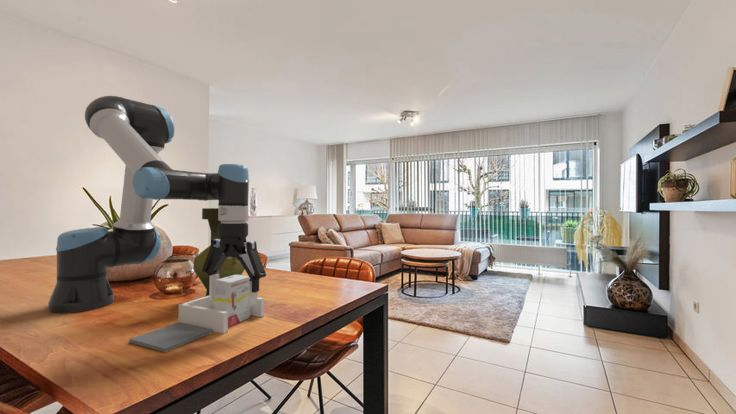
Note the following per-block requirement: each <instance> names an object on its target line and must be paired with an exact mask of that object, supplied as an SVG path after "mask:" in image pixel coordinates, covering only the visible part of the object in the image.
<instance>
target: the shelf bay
mask: <svg viewBox="0 0 736 414" xmlns="http://www.w3.org/2000/svg"><path fill="white" fill-rule="evenodd" d="M205 296H206V295H205ZM205 296H203V297H199V298H196V299H192V300H190V301H186V302H182V303H180V304H178V313H177V314H178V317H177V318H178V321H177V322H180V323H185V324H189V325H194V326H198V327H203V328H208V329H212V332H214V333H215V332H216V333H219V334H226V333H228V312H226V311H221V310H216V309H214V300H215V299H212V300H211V299H209V296H206V297H205ZM250 316H253V317H258V318H262V317H264V316H265V297H259V296H257V303H256V304H254V305H251V306H250Z"/></svg>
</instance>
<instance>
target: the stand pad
mask: <svg viewBox="0 0 736 414" xmlns="http://www.w3.org/2000/svg"><path fill="white" fill-rule="evenodd" d="M212 333H213V331H212V329H208V328H203V327H198V326H194V325H189V324H185V323H180V322H178V321H177V322H174V323H172V324H169V325H165V326H163V327H159V328H158V329H154V330H150V331H149V332H145V333H143V334H140V335H137V336H134V337H132V338H129V343H130V344H134V345H137V346H142V347H144V348H148V349H152V350H156V351H158V352H163V353H167V352H169V351H172V350H174V349H177V348H179V347H181V346H183V345H186V344H190V342H191V343H192V342H194V341H196V340H198V339H201V338H203V337H206V336H208V335H210V334H212Z"/></svg>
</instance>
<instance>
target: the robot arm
mask: <svg viewBox="0 0 736 414" xmlns="http://www.w3.org/2000/svg"><path fill="white" fill-rule="evenodd" d="M84 120H85V122H86V125H87V127H88V129H89V130H90V131H91V132H92V134H94V135H95V136H96V137H97V138H100V139H102V140H104V141H105V142H106V143H107V144H108V146H109V147H110V148H111V150H112V151H113V152H114V153H115V154H116V155H117V156H118V158H119V159H121V161H122V162H123V163H124V165H125V167H124V169H125V170H124V177H123V186H122V187H123V188H122V193H121V194H122V195H121V203H120V204H121V205H120V214H119V219H118V220H117V221H116V222H114V223H113V224H112V226H113V227H112V230H108V229H107V227H104V226H97V227H87V228H80V229H78V228H77V229H72V230H68V231H64V232H62V233H60V234H59V235H58V237H57V241H56V247H55V251H56V284H55V286H54V288H53V291H52V293H51V296H50V297H49V301H48V305H47V306H48V309H47V311H48V312H50V313H54V314H55V313H56V314H57V313H58V314H59V313H60V314H61V313H63V314H65V313H77V312H84V311H89V310H94V309H99V308H103V307H106V306H108V305H111V304H112V303H114V296H115V295H114V292H113V289H112V286H111V284H110V283H109V280H108V274H107V273H108V268H113V267H120V266H121V267H122V266H128V265H129V266H130V265H139V264H142V263H147V262H150V261H152V260H153V259H154V258H156V256H158V254H159V252H160V249H161V245H162V238H161V234H160V232H159V231H158V230H157V229H155V228H156V226H155V224H154V223H152V220H151V217H152V211H153V202H154V201H155V200H156V201H158V200H187V201H188V200H190V201H191V200H192V201H217V202H218V205H217V208H218V220H219V221H221V223H219V224H218V236H219V237H221V239H212V240H211V239H210V245H211V247H210V250H209V253H208V255H207V258H206V260H205V263H204V266H203V268H202V271H203V272H206V273H207V274H208V285H209V299H211V300H212V299H215V281H216V280H217V279H219V274H216V273H219V272H218V270H219V269H220V267H221V266H222V264H223V263H224V261H225V260H226V259H227V257H233V258H237V259H238V260H239V261H240V262H241V264H242V266H243V267H244V269H245V270H244V271H245V272H246V274H247V276H249V277H250V279H249V280H248V306H251V305H254V304H256V303H257V297H258V292H259V291H260V280H261V279H263V278H265V277H266V276H267V273H266V270H265V267H264V264H263V262H262V260H261V257H260V254H259V251H258V248H257V241H255V240H251V241H247V237H248V236H249V224H248V222H249V189H250V188H249V185H250V179H249V169H248V167H247V166H246V165H243V164H236V163H222V164H220V165H219V166H218V169H217V172H216V173H215V172H213V173H211V172H207V173H206V172H198V171H188V170H187V171H185V170H180V169H179V170H178V169H177V170H176V169H173V168H171V167H170V165H168V164H167V163H166V161H164V159H162V157H161V156H160V155H159V153H160V152H161V151H163V150H164V149H165V145H166V144H169V143H171V142H172V140H173V138H174V136H175V132H176V131H175V128H176V127H175V122H174V119H173V117H172V116H171V114H170V112H169V111H168V110H167V109H165V108H163V107H160V106H157V105H154V104H149V103H145V102H142V101H137V100H134V99H128V98H125V97H122V96H118V95H103V96H101V97H97V98H95V99H93V100H92V101H91V102H90V103H89V104H88V105H87V106H86V108H85V111H84ZM153 200H154V201H153ZM220 248H221V249H220ZM208 266H209V267H208Z"/></svg>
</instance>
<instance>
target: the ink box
mask: <svg viewBox="0 0 736 414" xmlns="http://www.w3.org/2000/svg"><path fill="white" fill-rule="evenodd" d="M249 279H250V277H249V276H248V275H243V274H242V275H232V276H229V277H225V278H221V279H217V280H216V281H215V300H214V309H216V310H221V311H226V312H228V328H231V327H233V326H235V325H237V324H239V323H241V322H243V321H245V320H247V319H249V318H251V317H250V316H251V315H250V306H248V280H249Z"/></svg>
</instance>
